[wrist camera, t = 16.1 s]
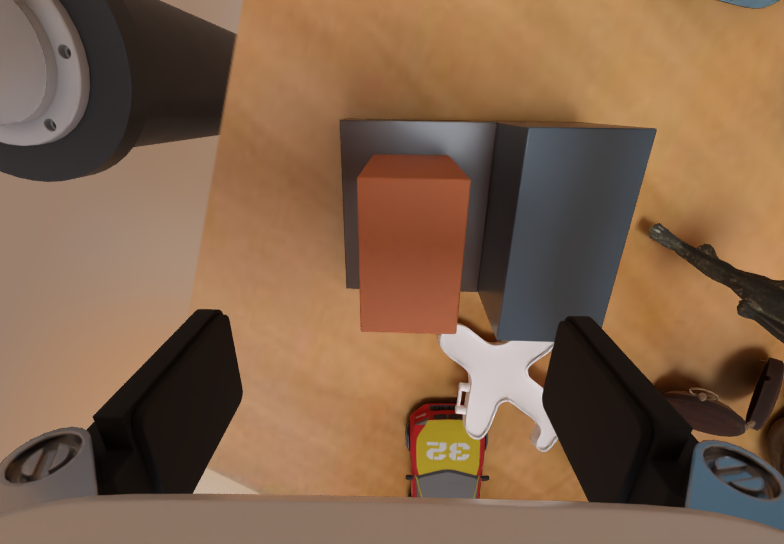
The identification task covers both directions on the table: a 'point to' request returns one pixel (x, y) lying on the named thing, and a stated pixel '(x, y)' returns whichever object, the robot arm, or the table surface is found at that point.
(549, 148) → the display shelf
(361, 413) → the table surface
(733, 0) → the vase
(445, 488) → the toy car
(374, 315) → the packet
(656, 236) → the statue
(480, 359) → the airplane toy
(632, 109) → the table surface
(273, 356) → the table surface
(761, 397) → the dark brown angled piece
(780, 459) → the sculpture
